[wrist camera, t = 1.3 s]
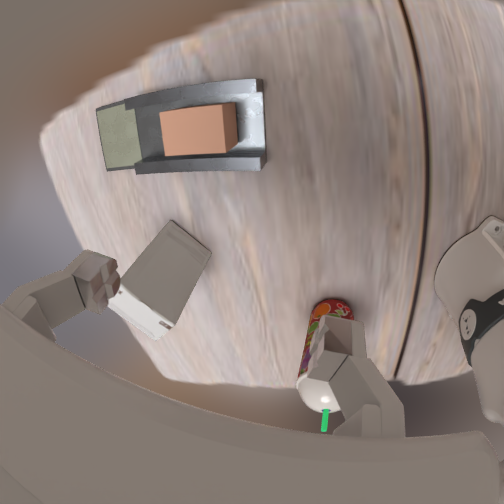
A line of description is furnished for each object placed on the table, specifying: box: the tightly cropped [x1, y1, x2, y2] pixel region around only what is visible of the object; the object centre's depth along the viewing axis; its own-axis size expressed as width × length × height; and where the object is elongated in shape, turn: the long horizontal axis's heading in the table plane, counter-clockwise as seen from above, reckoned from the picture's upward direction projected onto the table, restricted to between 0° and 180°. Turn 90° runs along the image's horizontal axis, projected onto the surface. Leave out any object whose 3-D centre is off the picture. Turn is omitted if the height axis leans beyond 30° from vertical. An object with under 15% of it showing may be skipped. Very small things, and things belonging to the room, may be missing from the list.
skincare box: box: [108, 221, 212, 341], centre depth 35 cm, size 8×6×15 cm
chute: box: [96, 79, 266, 175], centre depth 30 cm, size 24×10×4 cm, turn 93°
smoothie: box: [296, 299, 354, 431], centre depth 34 cm, size 8×8×20 cm
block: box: [159, 102, 238, 156], centre depth 28 cm, size 7×5×4 cm
